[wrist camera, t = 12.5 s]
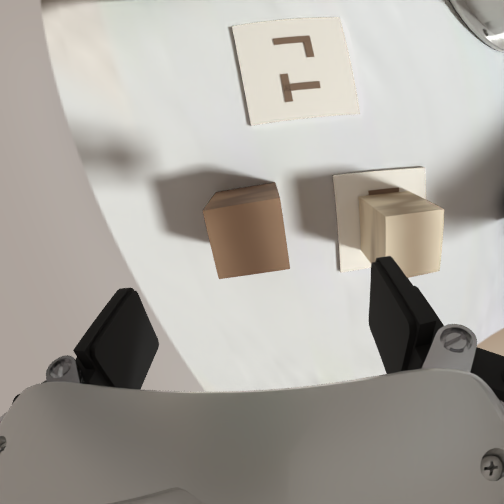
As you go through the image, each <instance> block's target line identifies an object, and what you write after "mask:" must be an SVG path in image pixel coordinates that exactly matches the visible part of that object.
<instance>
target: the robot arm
mask: <svg viewBox="0 0 504 504" xmlns="http://www.w3.org/2000/svg"><path fill="white" fill-rule="evenodd" d="M450 2H451V3H452V5H453V6H454V8H455V10H456V11H457V13H458V14H459V15H460V17H461V18H462V20H463V21H464V22H465V23H466V24H467V26H468V27H469V28H470V29H471V30H472V31H473V32H474V33H475V34H476V35H477V36H478V37H479V38H480V39H481V40H482V41H483V42H484V43H486V44H487V45H489V46H490V47H492V48H493V49H495V50H497V51H499V52H504V0H450ZM369 326H370V330H371V332H372V335H373V337H374V340H375V343H376V345H377V348H378V351H379V353H380V356H381V359H382V362H383V364H384V367H385V370H386V373H387V374H385V375H379V376H373V377H366V378H361V379H355V380H349V381H342V382H335V383H328V384H321V385H312V386H304V387H294V388H283V389H270V390H254V391H230V392H179V391H155V390H140V389H141V387H142V384H143V382H144V380H145V377H146V375H147V372H148V370H149V368H150V366H151V363H152V361H153V359H154V356H155V354H156V352H157V350H158V346H159V342H158V338H157V336H156V334H155V332H154V330H153V327H152V325H151V323H150V321H149V318H148V316H147V314H146V312H145V309H144V307H143V304H142V302H141V299H140V297H139V295H138V293H137V292H136V291H134V290H133V288H123V289H119V290H117V292H116V293H115V294H114V296H113V297H112V298H111V300H110V301H109V302H108V303H107V305H106V306H105V307H104V309H103V310H102V312H101V313H100V314H99V315H98V317H97V318H96V319H95V321H94V322H93V323H92V325H91V326H90V328H89V329H88V330H87V332H86V333H85V335H84V336H83V337H82V339H81V340H80V342H79V343H78V345H77V346H76V347H75V349H74V352H75V354H76V355H77V358H76V360H75V359H74V358H73V357H71V356H68V355H67V356H62V357H59V358H58V359H56V360H55V361H53V362H52V363H51V364H50V366H49V367H48V369H47V372H46V381H44V382H43V383H41V384H36V385H33V386H31V387H28V388H26V389H25V390H24V391H23V392H22V393H21V394H19V395H17V396H16V397H15V398H14V400H13V403H12V406H11V407H10V408H9V410H8V412H6V413H5V414H4V415H3V416H2V417H0V504H504V356H501V355H498V354H495V353H492V352H489V351H486V350H483V349H480V348H477V347H476V346H477V339H476V336H475V334H474V333H473V332H472V331H471V330H470V329H469V328H467V327H465V326H462V325H458V324H448V325H446V326H444V325H443V324H442V322H441V321H440V319H439V318H438V316H437V315H436V313H435V312H434V310H433V309H432V307H431V306H430V304H429V303H428V302H427V300H426V299H425V297H424V296H423V294H422V293H421V292H420V290H419V289H418V288H417V287H416V286H413V285H412V284H411V282H410V281H409V279H408V278H407V277H406V275H405V274H404V273H403V271H402V270H401V268H400V267H399V266H398V264H397V263H396V262H395V260H394V259H393V258H392V257H391V256H386V257H379V258H376V261H375V262H372V264H371V286H370V307H369Z"/></svg>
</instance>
